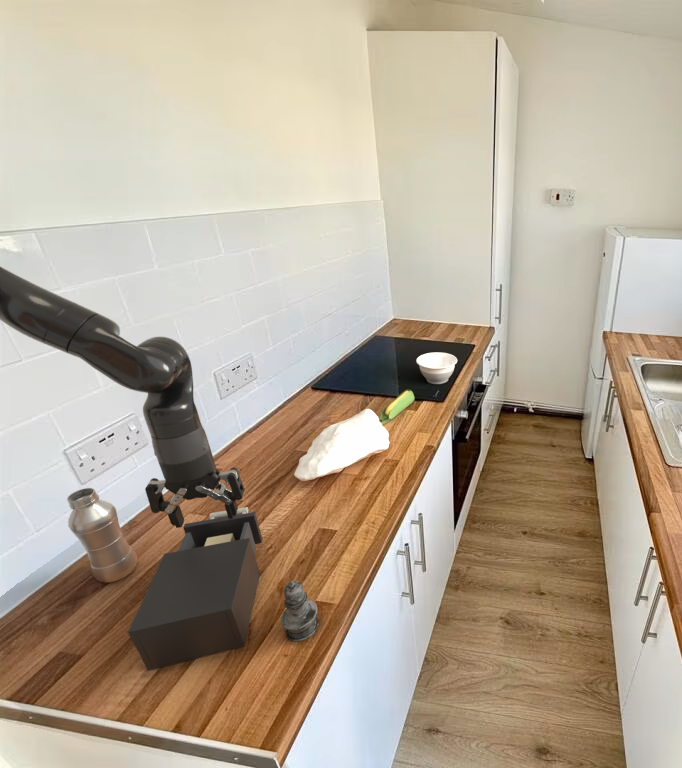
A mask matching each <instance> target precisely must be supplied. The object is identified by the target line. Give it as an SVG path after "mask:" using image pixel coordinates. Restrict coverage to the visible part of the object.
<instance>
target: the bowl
mask: <svg viewBox="0 0 682 768" xmlns="http://www.w3.org/2000/svg"><path fill="white" fill-rule="evenodd" d="M415 362H416V364H417V365H418V366H419V370H420V373H421V374H422V376H424V378H425V380H426V382H427V383H429V384H433V385H442V384H445V383H447V382H448V381H449V378H450V377H451V376H452V375H453V373H454V370H455V366H456V364H457V363H458V358H457V357H456V356H455V355H453V354H451V353H447V352H440V351H439V352H438V351H437V352H428V353H424V354H421V355H419V356H418V357H417V358H416V361H415Z"/></svg>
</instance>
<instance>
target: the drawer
mask: <svg viewBox="0 0 682 768" xmlns="http://www.w3.org/2000/svg"><path fill="white" fill-rule="evenodd" d="M182 529H183V532H184V537H183V538H182V541H181V543H180V545H179V547H178V550H177V551H182V550H187V549H192V548H198V547H203V546H204V545H205V542H206V540H207V538H209V537H215V536H220V535H226V534H231V533H233V536H234V539H235V541H236V540H241V539H246V538H250V542H251V545H252V548H253V552H254V555H255V554H256V550H257V546H256V545H260V544H262V543H263V539H264V538H263V536H262V532H261V528H260V525H259V521H258V516H257V513H256V511H252V512H249V507H248V506H245V507H238V510H237V513H236V515H234V518H233V519H229V518H228V515H227V512H226V510H220V511H215V512H210V513H209V519H205V520H198V521H193V522H187V523H184V524H183V526H182ZM255 556H256V555H255Z"/></svg>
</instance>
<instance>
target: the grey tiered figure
mask: <svg viewBox="0 0 682 768" xmlns="http://www.w3.org/2000/svg"><path fill="white" fill-rule="evenodd" d="M283 594H284V598H285V600H284V601H283V602H284V603H283V605H284V607H285V610H284V611H283V613H282V614H281V618H280V623H281V626H282V627H283V629H285V630H286V631H285V632H286V633H285V634H286V637H287V639H289V640H290V641H292V642H302V641H305V640H307V639H310V637H312V636H313V635H314V634H315V632H316V631H317V629H318V628H319V627H318V626H319V618H318V617H317V614H318V606H317V604H316V602H315V601H313V600H311V599H308V594H307V593H306V591H304V586H303V583H302V582H301V581H299V580H290V581H289V582H288V583H287V584H286V585H285V586H284V588H283Z"/></svg>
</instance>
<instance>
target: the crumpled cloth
mask: <svg viewBox="0 0 682 768" xmlns="http://www.w3.org/2000/svg"><path fill="white" fill-rule="evenodd" d="M379 419H380V417H379V416H378V415H377V414H376V413H375V412H374V411H373V410H372V409H370V408H365V409H363V410H361V411H360V412H358V413H357V414H354V415H353V416H351V417H350V418H347V419H344V420H342V421H339V422H337V423H333V424H331V425H329V426H328V427H325V428H324V429H323V430H322V431H321V432H320V433H319V435H317V436H316V438H314V439H313V440H312V442H311V445H310V447H309V448H307V451H306V454H304V455H302V456H301V457H300V458H299V460H298V466H297V467H296V469H295V471H294V474H293V477H295V478H296V479H298V480H299V481H301V482H308V481H313V480H315V479H317V478H323V477H325V476H330V475H331V474H339V473H340V472H341V471H343V470H344V469H345V468H348V467H349V466H351V465H353V464H355V463H357V462H360V461H361V460H363V459H367V458H369V457H371V456H374V455H376V454H380V453H383V452H385V451H386V450H388V449H389V448H390V447H389V446H390V439H389V437H390V433H389V431H388V430H387V429H386V427H384V426H383V424H382V423H381V422H382V421H380V420H379Z"/></svg>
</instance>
